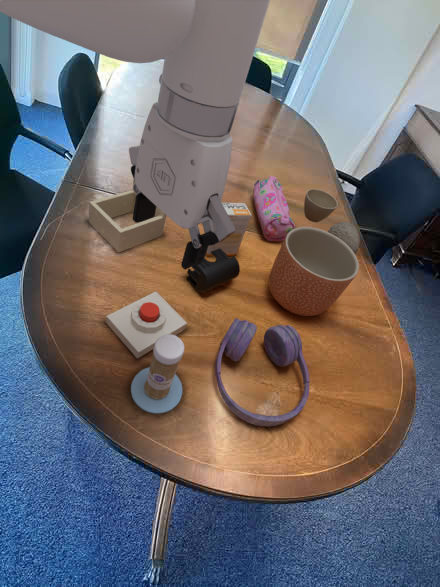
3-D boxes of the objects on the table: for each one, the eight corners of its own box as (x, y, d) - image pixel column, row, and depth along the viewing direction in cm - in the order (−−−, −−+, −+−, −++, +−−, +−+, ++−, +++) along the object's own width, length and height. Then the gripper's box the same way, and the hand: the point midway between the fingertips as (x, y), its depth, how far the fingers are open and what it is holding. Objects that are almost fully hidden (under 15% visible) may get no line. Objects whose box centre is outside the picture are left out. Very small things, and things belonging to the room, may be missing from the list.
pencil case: (248, 196, 119) (258, 170, 113) (276, 202, 121) (287, 177, 115) (256, 241, 105) (268, 214, 98) (288, 247, 107) (301, 221, 101)
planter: (333, 293, 99) (364, 249, 88) (318, 338, 87) (352, 293, 76) (273, 263, 101) (297, 216, 90) (251, 302, 89) (275, 254, 78)
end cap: (203, 300, 85) (210, 279, 80) (183, 279, 88) (189, 257, 83) (234, 284, 91) (243, 264, 86) (215, 265, 94) (223, 244, 89)
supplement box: (230, 243, 101) (245, 202, 92) (236, 256, 98) (252, 215, 89) (200, 243, 98) (213, 201, 89) (206, 256, 95) (220, 214, 86)
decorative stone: (315, 240, 113) (330, 212, 106) (340, 244, 115) (357, 217, 108) (324, 264, 106) (342, 237, 99) (351, 268, 108) (370, 241, 101)
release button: (147, 325, 72) (148, 319, 71) (135, 312, 73) (136, 307, 72) (162, 317, 74) (163, 311, 73) (150, 305, 76) (151, 299, 74)
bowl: (319, 208, 126) (329, 190, 121) (331, 228, 120) (343, 209, 114) (292, 206, 122) (302, 187, 117) (304, 226, 116) (314, 207, 111)
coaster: (152, 424, 64) (153, 423, 63) (120, 384, 67) (120, 383, 67) (192, 394, 69) (192, 393, 69) (160, 359, 72) (160, 357, 72)
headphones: (211, 327, 80) (210, 426, 69) (221, 307, 73) (222, 413, 62) (292, 338, 84) (304, 433, 73) (309, 319, 77) (325, 421, 66)
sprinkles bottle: (142, 398, 66) (153, 356, 56) (145, 375, 69) (156, 331, 59) (169, 401, 67) (184, 359, 57) (170, 378, 70) (185, 335, 60)
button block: (137, 359, 71) (139, 346, 68) (105, 322, 74) (106, 309, 72) (185, 329, 78) (189, 317, 76) (154, 297, 82) (157, 285, 79)
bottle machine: (118, 252, 88) (124, 193, 77) (88, 222, 92) (90, 162, 81) (162, 235, 96) (173, 180, 85) (133, 208, 100) (140, 151, 89)
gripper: (111, 69, 38) (102, 209, 50) (233, 162, 32) (189, 296, 44) (169, 67, 43) (148, 196, 55) (284, 148, 37) (232, 272, 49)
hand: (166, 240), depth 49 cm, fingers open, 9 cm apart
